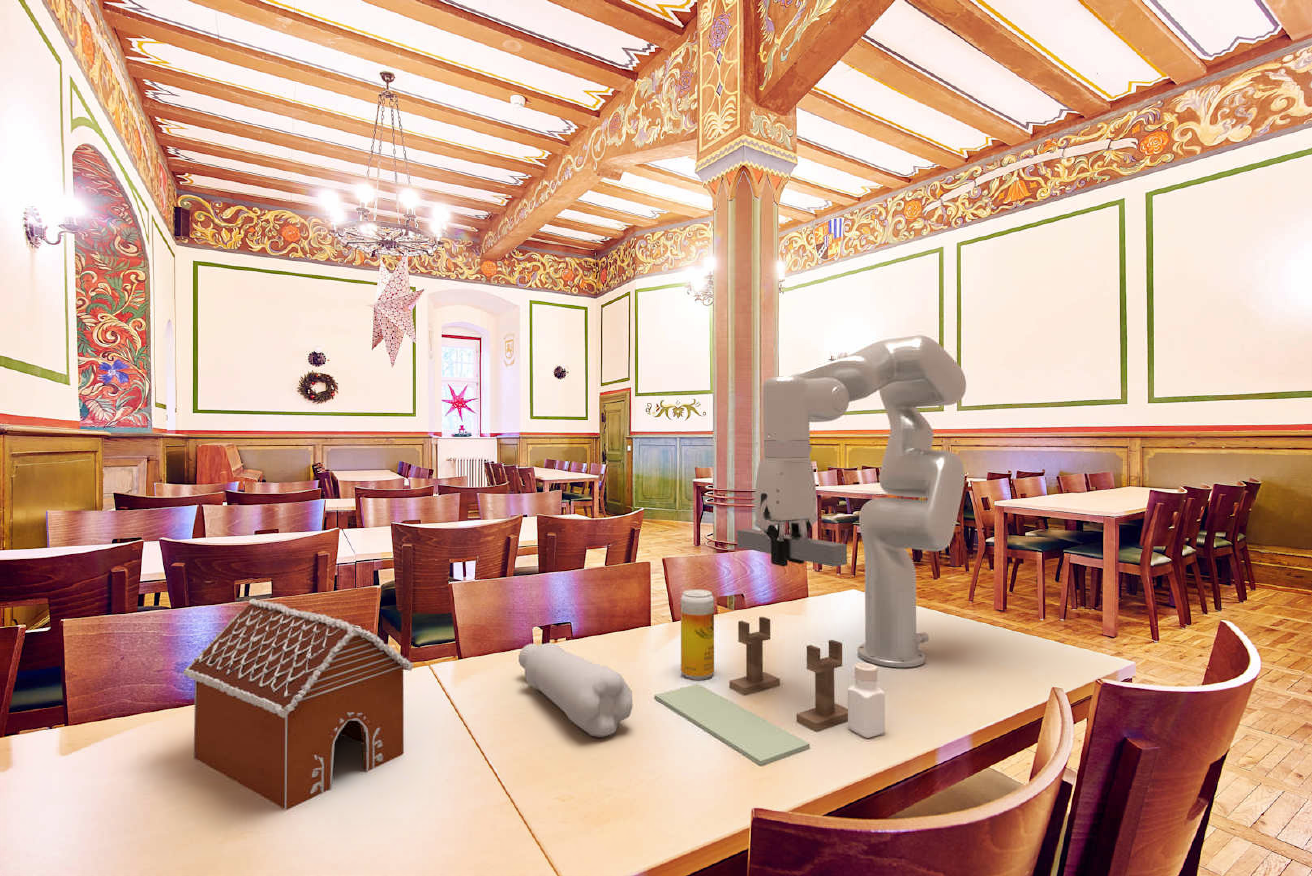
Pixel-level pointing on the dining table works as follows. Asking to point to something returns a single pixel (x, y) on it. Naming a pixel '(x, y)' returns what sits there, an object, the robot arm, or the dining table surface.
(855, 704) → the salt shaker
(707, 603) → the beer can
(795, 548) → the rail
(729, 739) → the board
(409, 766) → the dining table surface
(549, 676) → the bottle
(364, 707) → the gingerbread house
